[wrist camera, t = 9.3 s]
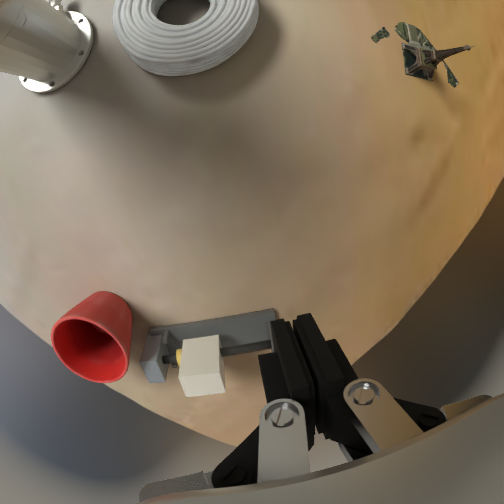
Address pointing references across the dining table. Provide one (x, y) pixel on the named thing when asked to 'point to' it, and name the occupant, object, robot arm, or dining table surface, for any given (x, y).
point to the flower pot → (95, 338)
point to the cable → (183, 35)
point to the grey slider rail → (228, 328)
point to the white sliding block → (202, 366)
